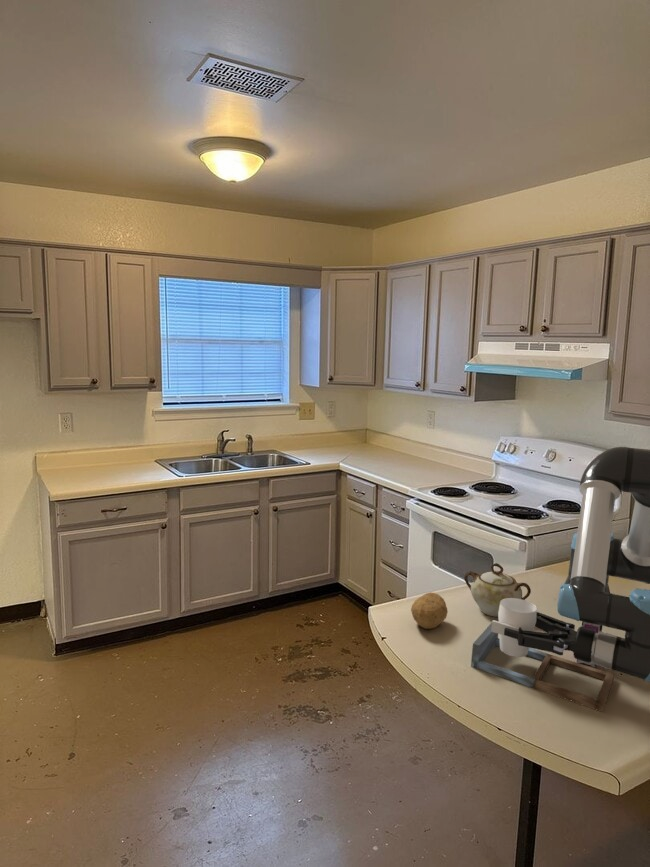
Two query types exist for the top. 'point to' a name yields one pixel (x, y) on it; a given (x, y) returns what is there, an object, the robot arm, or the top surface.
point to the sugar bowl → (494, 589)
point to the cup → (516, 623)
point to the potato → (429, 610)
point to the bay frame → (540, 671)
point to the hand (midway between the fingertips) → (498, 618)
